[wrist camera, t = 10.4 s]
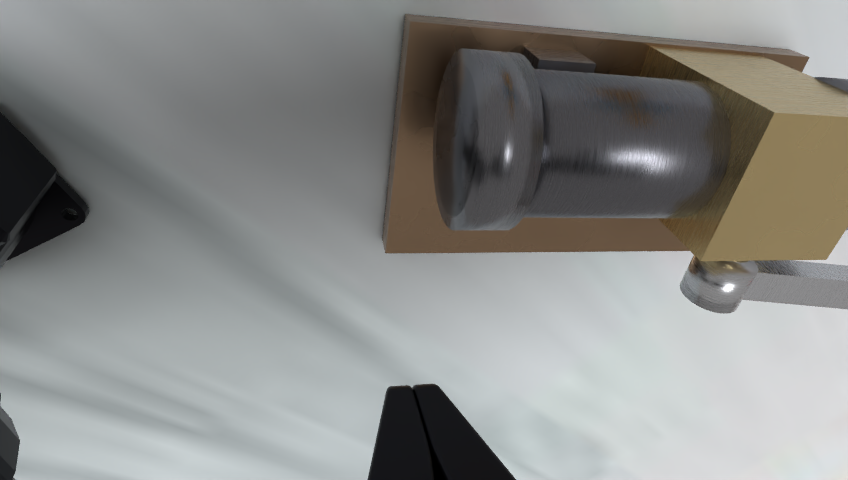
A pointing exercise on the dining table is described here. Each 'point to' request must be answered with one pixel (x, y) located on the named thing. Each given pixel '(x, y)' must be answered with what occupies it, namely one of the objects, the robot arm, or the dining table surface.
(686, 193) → the valve
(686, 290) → the lever
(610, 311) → the dining table surface
